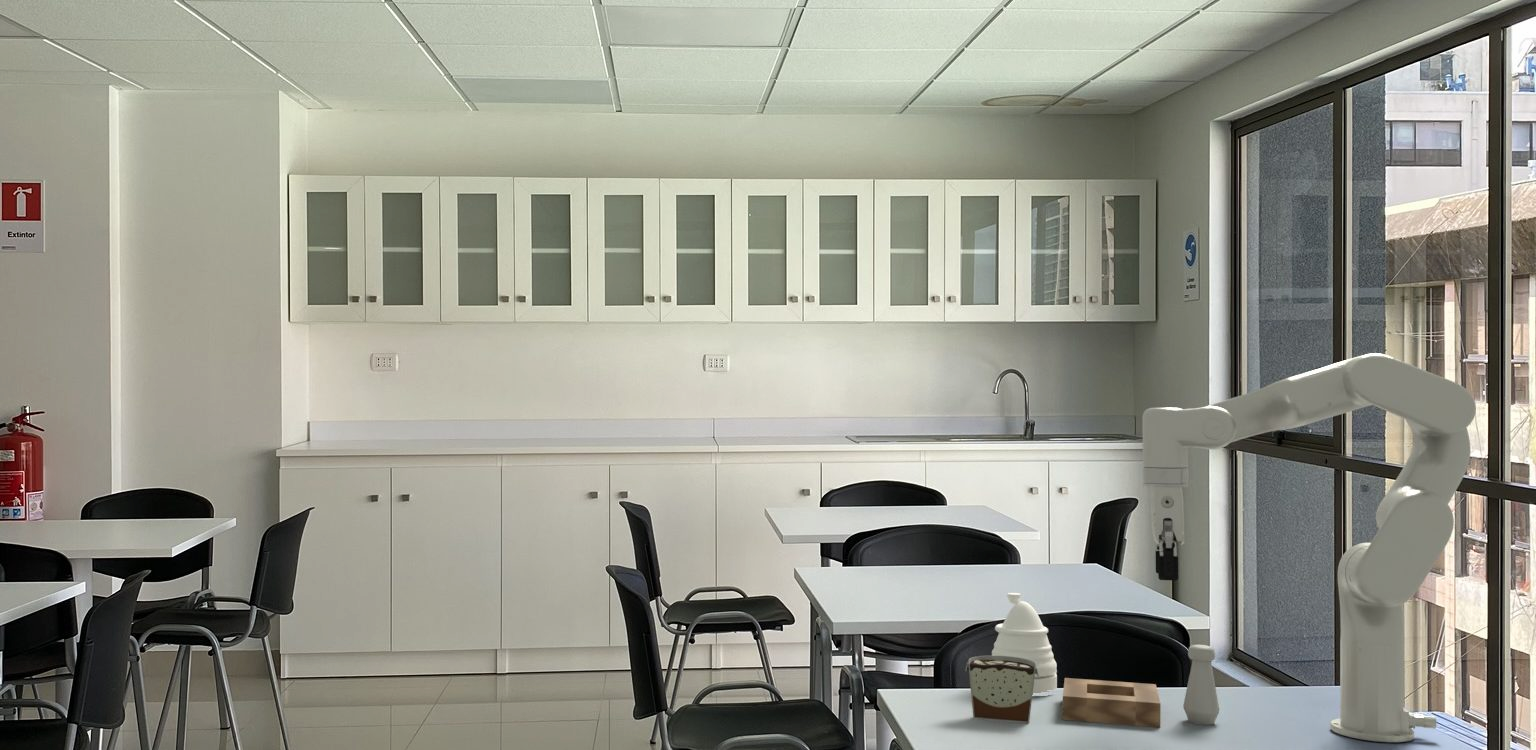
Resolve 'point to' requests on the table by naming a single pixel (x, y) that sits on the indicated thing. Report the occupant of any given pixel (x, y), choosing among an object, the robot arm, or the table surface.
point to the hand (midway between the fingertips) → (1166, 576)
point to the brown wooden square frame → (1111, 702)
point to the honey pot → (1027, 642)
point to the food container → (1001, 687)
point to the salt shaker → (1201, 687)
